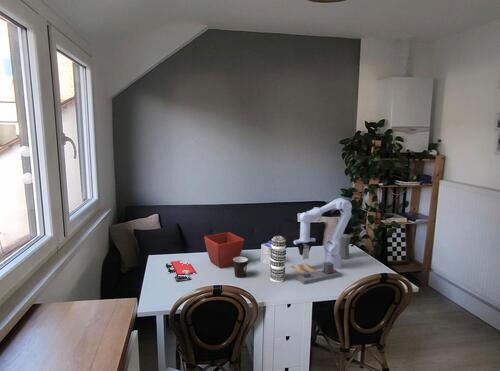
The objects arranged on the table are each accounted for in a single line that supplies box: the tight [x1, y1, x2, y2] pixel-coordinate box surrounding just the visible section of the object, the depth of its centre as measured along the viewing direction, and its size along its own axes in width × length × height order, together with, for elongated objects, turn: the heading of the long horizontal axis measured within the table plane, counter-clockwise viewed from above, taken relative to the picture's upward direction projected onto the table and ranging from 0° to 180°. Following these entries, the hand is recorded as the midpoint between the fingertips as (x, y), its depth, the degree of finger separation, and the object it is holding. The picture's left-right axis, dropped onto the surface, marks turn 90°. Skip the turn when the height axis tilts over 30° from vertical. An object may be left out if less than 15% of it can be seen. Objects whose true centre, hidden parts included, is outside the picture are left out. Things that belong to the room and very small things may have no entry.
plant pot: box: [204, 232, 245, 269], centre depth 217 cm, size 19×19×17 cm
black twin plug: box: [322, 261, 334, 275], centre depth 200 cm, size 4×4×8 cm
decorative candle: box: [269, 235, 287, 283], centre depth 194 cm, size 9×9×25 cm
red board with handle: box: [165, 260, 197, 282], centre depth 206 cm, size 30×3×15 cm
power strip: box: [295, 269, 342, 285], centre depth 197 cm, size 26×8×3 cm, turn 116°
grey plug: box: [298, 243, 310, 260], centre depth 208 cm, size 4×4×8 cm
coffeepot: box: [339, 230, 358, 260], centre depth 231 cm, size 15×9×18 cm, turn 94°
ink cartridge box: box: [260, 240, 272, 267], centre depth 218 cm, size 10×6×14 cm, turn 38°
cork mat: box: [290, 262, 317, 274], centre depth 211 cm, size 12×12×1 cm
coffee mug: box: [233, 256, 250, 279], centre depth 200 cm, size 12×9×10 cm
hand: (304, 254), depth 208 cm, fingers closed on grey plug, 4 cm apart
